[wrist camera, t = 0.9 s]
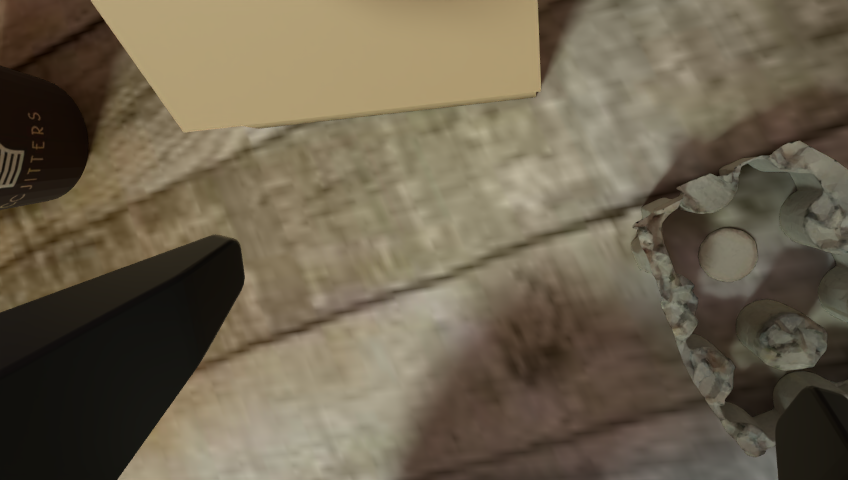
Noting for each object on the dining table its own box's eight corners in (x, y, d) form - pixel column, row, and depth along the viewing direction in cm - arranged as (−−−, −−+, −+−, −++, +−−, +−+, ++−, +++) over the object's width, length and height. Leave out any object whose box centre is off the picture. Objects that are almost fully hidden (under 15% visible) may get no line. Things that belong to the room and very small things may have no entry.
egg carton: (607, 210, 23) (622, 218, 19) (789, 132, 21) (846, 122, 17) (707, 432, 23) (743, 485, 19) (895, 373, 22) (977, 417, 18)
